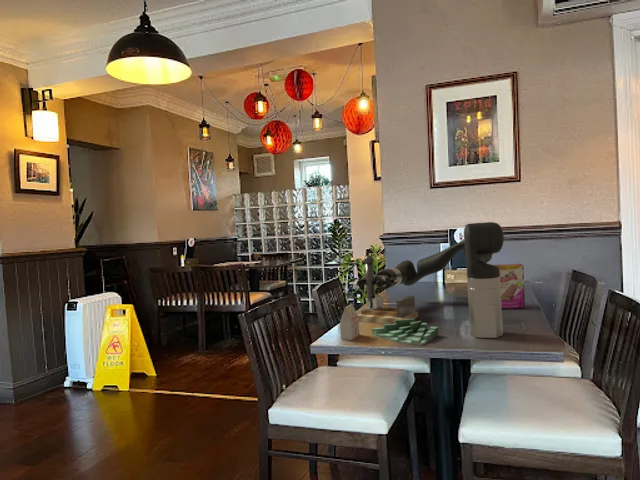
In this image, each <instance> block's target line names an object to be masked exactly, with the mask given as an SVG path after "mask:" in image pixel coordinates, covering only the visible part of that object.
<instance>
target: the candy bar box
mask: <svg viewBox="0 0 640 480" xmlns="http://www.w3.org/2000/svg"><path fill="white" fill-rule="evenodd" d="M493 265H494V266H497V267H498V268H499V270H500V287H501V306H502V310H505V309H507V310H508V309H509V310H510V309H525V308H526V307H525V306H526V303H525V302H526V301H525V275H524V274H525V273H524V271H525V270H524V264H522V263H502V264H501V263H500V264H499V263H497V264H493Z"/></svg>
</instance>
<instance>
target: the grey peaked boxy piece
mask: <svg viewBox="0 0 640 480" xmlns="http://www.w3.org/2000/svg"><path fill="white" fill-rule="evenodd" d="M358 315H359V314H358V313H357V311H356V309H355V307H354V304H353V303H350V304H349V305H346V306H345V307H344V309H343V312H342V315H341V317H340V319H339V325H340V326H339V327H340V328H339V329H340V340H341V341H353V340H354V339H356V338H357V337H358V336H360V324H359V323H360V322H359V319H358Z"/></svg>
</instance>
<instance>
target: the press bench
mask: <svg viewBox="0 0 640 480" xmlns="http://www.w3.org/2000/svg"><path fill="white" fill-rule="evenodd" d="M395 302H396V307H386V306H383V307H380V311H375V310H364V309H360V313H358V314H357V315H358V319H359V323H360V322H362V323H373V324H381V325H383V324H395V320H401V319H415V320H416V318H419V314H418V313H419V311H416V305H415V304H416V303H415V295H407V296H404V297H402V298H399V299H397V300H395Z"/></svg>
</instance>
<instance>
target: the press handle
mask: <svg viewBox="0 0 640 480" xmlns="http://www.w3.org/2000/svg"><path fill="white" fill-rule="evenodd" d="M374 261H375V260H374V257H373V256H372V255H369V254H368V255H366V256H364V258H363V262H364V266H365V268H364V269H365V277H366V285H365V287H366V298H367V306H365V307H363V310H375V311H380V307H385V306H384V305H385V304H384V296H377V297H376V286H375V284H374V275H375V273H374V272H375V271H374V270H375V269H374Z"/></svg>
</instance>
